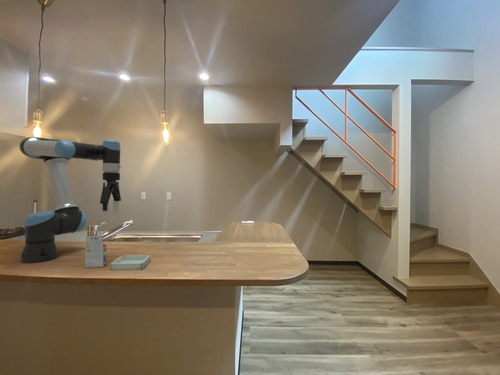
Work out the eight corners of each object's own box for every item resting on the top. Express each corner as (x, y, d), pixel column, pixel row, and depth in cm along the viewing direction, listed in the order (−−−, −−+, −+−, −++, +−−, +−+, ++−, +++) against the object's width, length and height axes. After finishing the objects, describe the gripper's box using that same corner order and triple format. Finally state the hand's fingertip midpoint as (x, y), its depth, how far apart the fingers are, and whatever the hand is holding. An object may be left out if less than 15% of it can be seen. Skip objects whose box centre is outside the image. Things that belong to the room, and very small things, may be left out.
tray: (110, 270, 118) (110, 263, 118) (121, 261, 131) (121, 255, 131) (142, 269, 120) (142, 263, 120) (150, 260, 133) (150, 255, 133)
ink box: (89, 265, 124) (89, 234, 124) (106, 265, 125) (106, 234, 125) (84, 267, 121) (85, 236, 120) (103, 267, 122) (103, 236, 121)
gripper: (110, 171, 117) (109, 219, 118) (127, 172, 142) (127, 212, 143) (91, 171, 116) (91, 219, 117) (112, 172, 141) (112, 212, 141)
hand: (111, 215), depth 130 cm, fingers open, 13 cm apart
